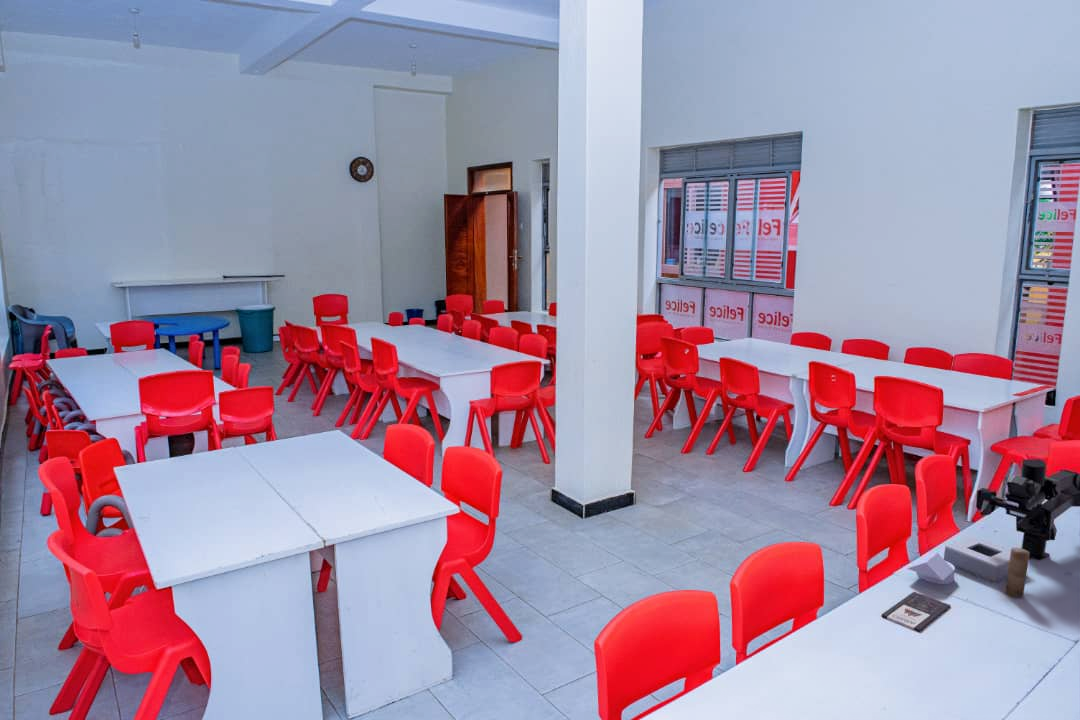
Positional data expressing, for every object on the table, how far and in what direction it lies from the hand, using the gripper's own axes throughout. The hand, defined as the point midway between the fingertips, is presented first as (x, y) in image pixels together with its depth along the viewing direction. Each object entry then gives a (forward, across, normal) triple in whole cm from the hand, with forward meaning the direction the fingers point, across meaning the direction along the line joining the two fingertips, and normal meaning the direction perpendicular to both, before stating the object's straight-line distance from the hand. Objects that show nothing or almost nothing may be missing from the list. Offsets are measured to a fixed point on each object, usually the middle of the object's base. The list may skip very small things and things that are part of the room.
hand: (999, 519), depth 204 cm
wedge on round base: (+17, -8, +14) cm, 24 cm away
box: (-2, -4, +17) cm, 18 cm away
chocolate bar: (+37, -1, +12) cm, 39 cm away
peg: (+8, +8, +16) cm, 19 cm away
